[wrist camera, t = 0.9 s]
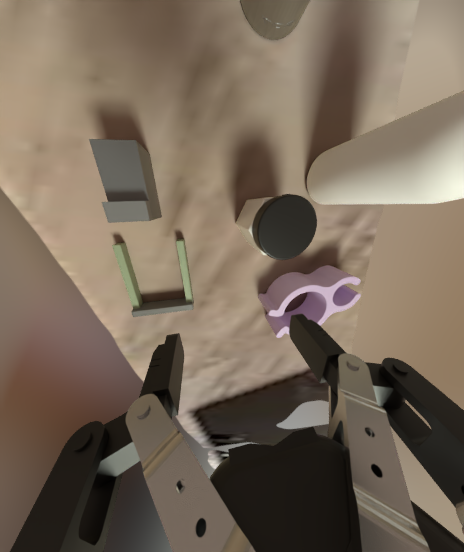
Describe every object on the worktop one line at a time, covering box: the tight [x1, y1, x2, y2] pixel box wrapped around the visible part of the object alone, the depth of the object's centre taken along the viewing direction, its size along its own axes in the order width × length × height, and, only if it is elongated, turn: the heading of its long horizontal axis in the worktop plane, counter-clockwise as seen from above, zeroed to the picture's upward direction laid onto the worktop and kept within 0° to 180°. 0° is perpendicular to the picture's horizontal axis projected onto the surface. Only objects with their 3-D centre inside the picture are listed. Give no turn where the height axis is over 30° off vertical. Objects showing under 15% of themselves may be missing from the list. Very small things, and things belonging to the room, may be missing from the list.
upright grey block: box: [89, 139, 162, 223], centre depth 23 cm, size 9×5×8 cm, turn 2°
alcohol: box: [307, 91, 464, 204], centre depth 17 cm, size 9×9×30 cm
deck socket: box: [112, 239, 194, 317], centre depth 31 cm, size 14×11×3 cm
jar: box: [236, 194, 317, 260], centre depth 26 cm, size 9×8×12 cm
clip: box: [258, 265, 361, 338], centre depth 37 cm, size 20×12×7 cm, turn 111°
